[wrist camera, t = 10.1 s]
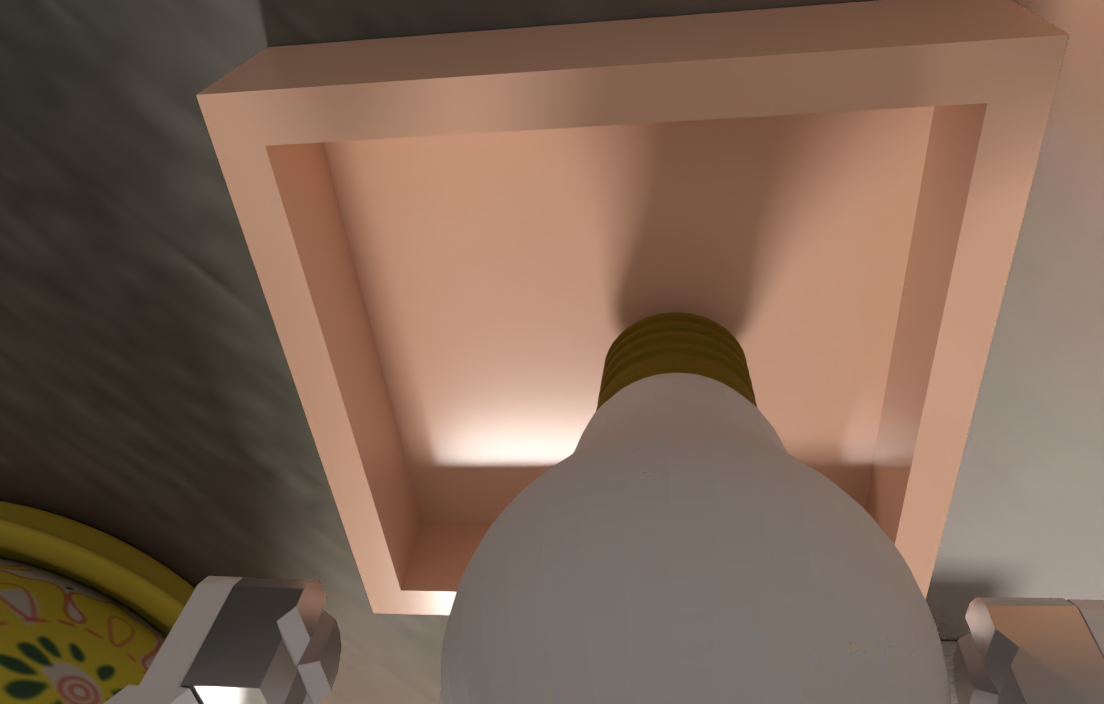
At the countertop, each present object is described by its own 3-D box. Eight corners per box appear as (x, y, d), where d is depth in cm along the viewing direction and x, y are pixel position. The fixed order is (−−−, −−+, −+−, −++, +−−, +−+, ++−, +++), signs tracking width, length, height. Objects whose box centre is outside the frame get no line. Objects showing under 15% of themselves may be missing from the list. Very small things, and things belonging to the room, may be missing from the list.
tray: (996, -9, 12) (1070, 34, 10) (888, 531, 19) (918, 626, 16) (266, 47, 14) (195, 94, 12) (402, 526, 20) (373, 613, 18)
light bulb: (799, 471, 17) (928, 1098, 9) (523, 448, 18) (406, 1024, 9) (867, 217, 14) (1174, 854, 6) (521, 196, 14) (337, 756, 6)
